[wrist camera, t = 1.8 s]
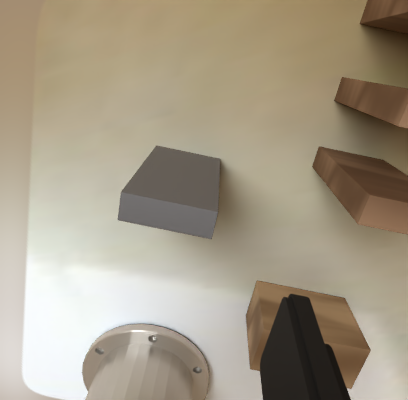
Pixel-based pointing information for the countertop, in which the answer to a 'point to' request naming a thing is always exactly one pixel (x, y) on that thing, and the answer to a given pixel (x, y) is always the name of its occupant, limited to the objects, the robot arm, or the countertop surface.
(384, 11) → the domino
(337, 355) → the end block
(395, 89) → the domino
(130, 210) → the domino
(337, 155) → the domino
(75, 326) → the countertop surface
